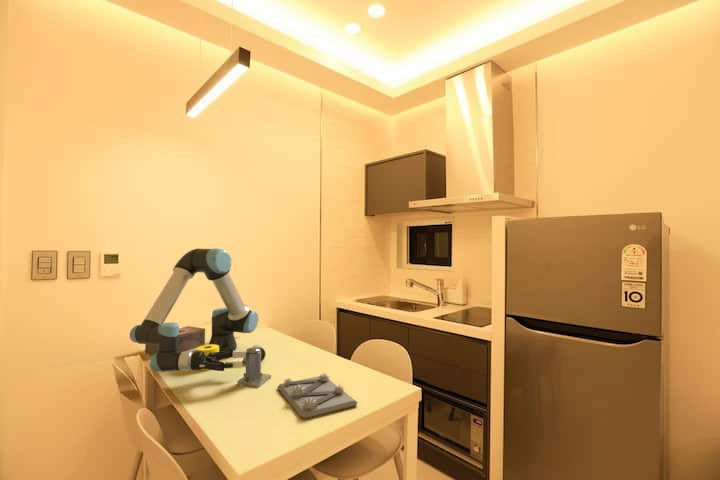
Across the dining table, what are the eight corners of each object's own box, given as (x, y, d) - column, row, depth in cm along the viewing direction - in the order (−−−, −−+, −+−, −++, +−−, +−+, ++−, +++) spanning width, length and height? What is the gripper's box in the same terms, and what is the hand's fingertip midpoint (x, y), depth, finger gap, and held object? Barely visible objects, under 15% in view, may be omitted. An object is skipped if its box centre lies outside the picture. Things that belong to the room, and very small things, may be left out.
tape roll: (198, 372, 154) (199, 351, 154) (193, 366, 162) (193, 346, 162) (221, 367, 160) (221, 347, 161) (215, 362, 168) (215, 343, 168)
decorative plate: (358, 407, 122) (359, 388, 122) (302, 422, 111) (302, 400, 112) (325, 379, 148) (325, 363, 148) (276, 389, 137) (276, 371, 138)
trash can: (263, 374, 148) (263, 347, 148) (261, 380, 142) (261, 351, 142) (245, 375, 147) (245, 347, 147) (242, 380, 141) (243, 351, 141)
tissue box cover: (187, 342, 203) (188, 326, 204) (204, 345, 197) (205, 328, 197) (145, 354, 180) (145, 335, 180) (162, 358, 174) (163, 338, 174)
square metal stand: (250, 376, 150) (250, 353, 151) (270, 378, 148) (271, 355, 148) (237, 384, 140) (237, 360, 141) (259, 387, 138) (259, 362, 138)
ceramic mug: (263, 357, 177) (263, 342, 177) (265, 362, 169) (265, 346, 169) (242, 359, 173) (242, 344, 173) (243, 364, 165) (243, 349, 165)
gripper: (202, 360, 153) (250, 358, 156) (180, 381, 129) (238, 379, 132) (202, 343, 154) (250, 342, 157) (181, 361, 129) (238, 359, 132)
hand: (245, 359), depth 144 cm, fingers open, 13 cm apart
